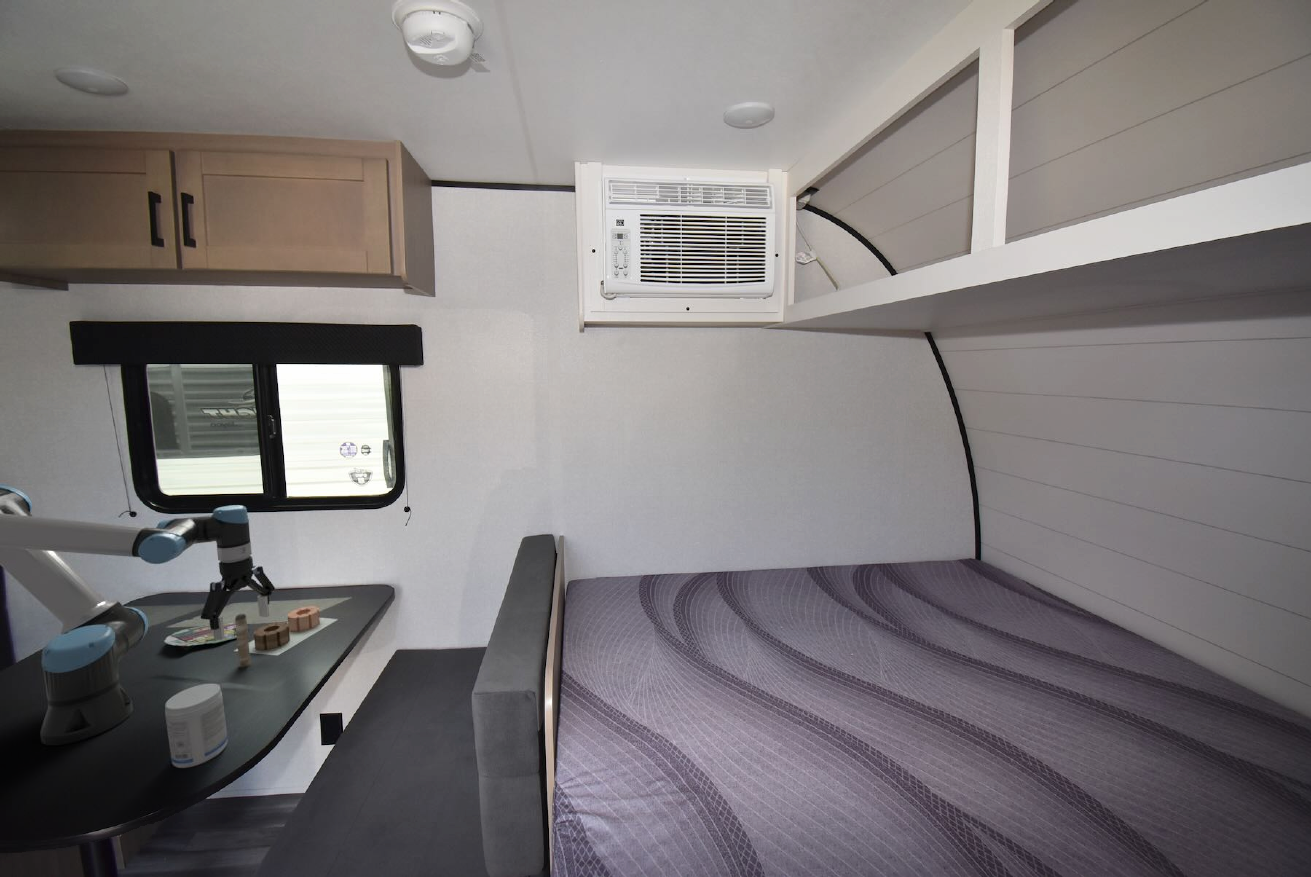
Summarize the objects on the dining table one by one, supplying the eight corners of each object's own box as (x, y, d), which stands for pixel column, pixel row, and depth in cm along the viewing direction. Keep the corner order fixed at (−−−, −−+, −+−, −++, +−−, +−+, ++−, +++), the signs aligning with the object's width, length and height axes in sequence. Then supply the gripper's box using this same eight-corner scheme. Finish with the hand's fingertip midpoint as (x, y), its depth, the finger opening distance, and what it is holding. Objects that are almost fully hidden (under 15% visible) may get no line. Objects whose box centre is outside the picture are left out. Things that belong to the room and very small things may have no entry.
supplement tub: (225, 733, 120) (219, 677, 118) (230, 753, 114) (224, 694, 112) (169, 755, 113) (163, 695, 111) (172, 777, 107) (165, 714, 105)
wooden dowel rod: (244, 671, 146) (239, 616, 144) (237, 670, 146) (232, 615, 144) (253, 666, 148) (248, 612, 146) (245, 665, 149) (240, 611, 147)
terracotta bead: (304, 632, 166) (303, 618, 166) (282, 630, 167) (281, 616, 167) (325, 620, 175) (324, 607, 174) (304, 618, 176) (303, 605, 176)
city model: (278, 629, 176) (278, 612, 176) (212, 657, 152) (213, 637, 152) (215, 626, 178) (215, 609, 178) (141, 653, 155) (141, 634, 155)
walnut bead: (272, 651, 154) (271, 636, 154) (248, 649, 156) (246, 634, 155) (296, 637, 163) (295, 623, 162) (273, 635, 164) (272, 621, 164)
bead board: (277, 659, 152) (277, 655, 152) (233, 654, 155) (233, 650, 155) (338, 622, 176) (338, 619, 176) (299, 618, 178) (299, 615, 178)
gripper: (201, 575, 131) (209, 650, 133) (284, 545, 155) (290, 608, 158) (177, 574, 132) (186, 648, 134) (264, 543, 156) (270, 607, 159)
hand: (242, 626), depth 146 cm, fingers open, 13 cm apart
